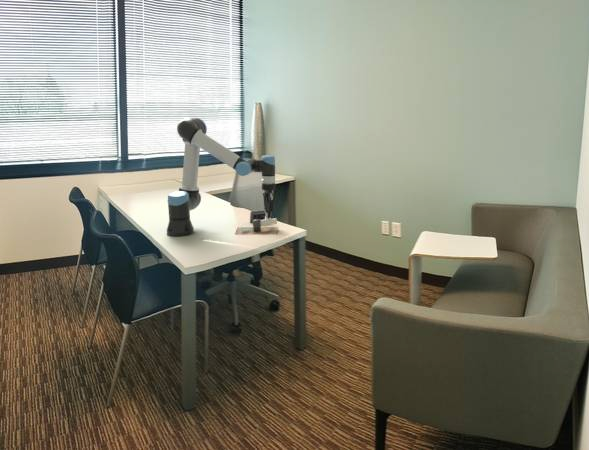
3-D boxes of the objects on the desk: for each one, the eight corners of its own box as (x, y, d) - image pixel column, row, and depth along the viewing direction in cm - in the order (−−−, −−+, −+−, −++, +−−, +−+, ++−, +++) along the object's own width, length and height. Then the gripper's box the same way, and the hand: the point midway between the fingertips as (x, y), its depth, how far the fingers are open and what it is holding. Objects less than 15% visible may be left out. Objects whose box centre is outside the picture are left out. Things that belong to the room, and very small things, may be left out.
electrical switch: (263, 222, 304) (263, 208, 301) (266, 225, 299) (266, 211, 296) (249, 224, 300) (249, 210, 297) (252, 227, 296) (252, 212, 293)
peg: (242, 232, 274) (242, 222, 273) (239, 231, 278) (239, 220, 277) (277, 228, 283) (277, 218, 281) (275, 227, 286) (274, 217, 285)
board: (234, 236, 272) (234, 233, 272) (237, 229, 288) (237, 226, 287) (277, 236, 273) (277, 233, 272) (277, 229, 288) (277, 226, 288)
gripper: (258, 181, 281) (258, 220, 288) (265, 185, 270) (266, 226, 276) (270, 180, 284) (270, 219, 290) (278, 184, 273) (278, 225, 279)
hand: (268, 222), depth 283 cm, fingers closed
